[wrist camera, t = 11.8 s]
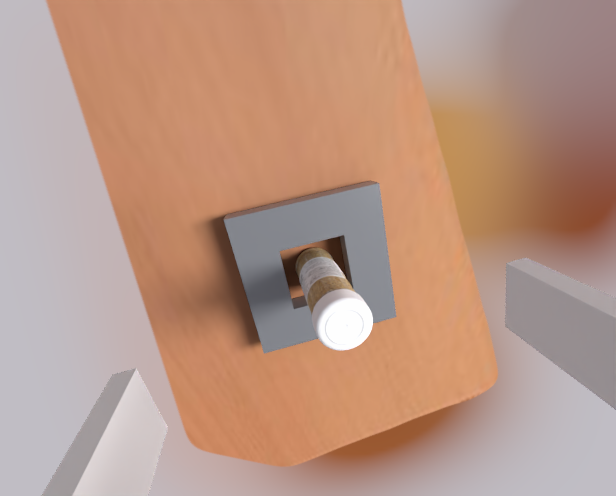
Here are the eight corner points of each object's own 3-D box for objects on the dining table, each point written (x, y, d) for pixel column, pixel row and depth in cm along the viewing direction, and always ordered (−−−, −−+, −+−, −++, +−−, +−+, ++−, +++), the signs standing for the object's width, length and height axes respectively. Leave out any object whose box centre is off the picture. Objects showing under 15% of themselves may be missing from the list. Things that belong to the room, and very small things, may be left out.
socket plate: (225, 214, 33) (223, 219, 31) (370, 180, 34) (379, 183, 32) (263, 340, 38) (264, 353, 36) (387, 306, 40) (396, 316, 37)
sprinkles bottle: (330, 283, 38) (369, 352, 25) (292, 282, 37) (313, 353, 24) (335, 246, 36) (378, 299, 24) (295, 244, 35) (319, 299, 23)
